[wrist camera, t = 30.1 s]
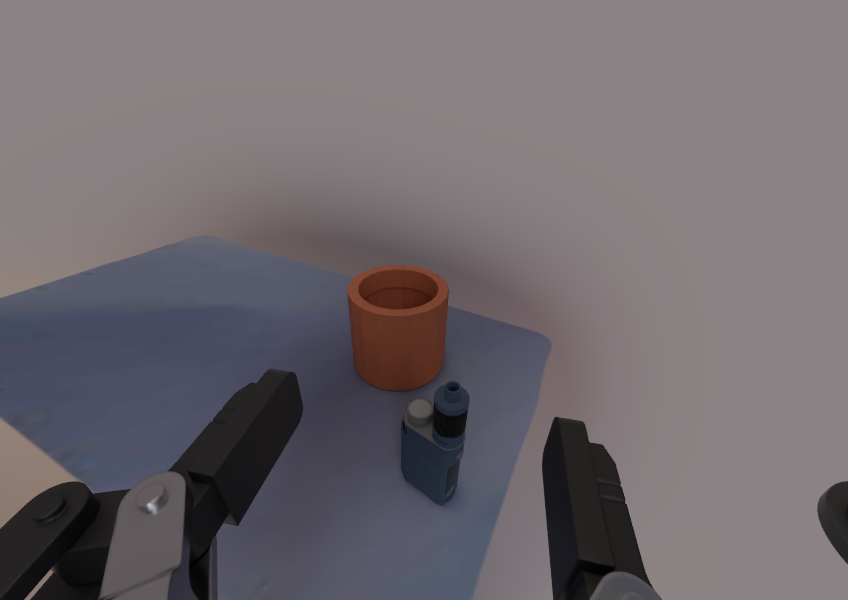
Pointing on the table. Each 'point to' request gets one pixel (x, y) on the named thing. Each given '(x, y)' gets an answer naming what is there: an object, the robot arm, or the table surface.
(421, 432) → the vaping device
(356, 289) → the terracotta planter pot
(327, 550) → the table surface
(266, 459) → the robot arm
